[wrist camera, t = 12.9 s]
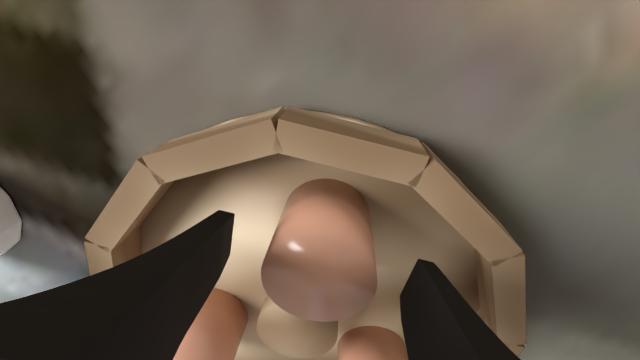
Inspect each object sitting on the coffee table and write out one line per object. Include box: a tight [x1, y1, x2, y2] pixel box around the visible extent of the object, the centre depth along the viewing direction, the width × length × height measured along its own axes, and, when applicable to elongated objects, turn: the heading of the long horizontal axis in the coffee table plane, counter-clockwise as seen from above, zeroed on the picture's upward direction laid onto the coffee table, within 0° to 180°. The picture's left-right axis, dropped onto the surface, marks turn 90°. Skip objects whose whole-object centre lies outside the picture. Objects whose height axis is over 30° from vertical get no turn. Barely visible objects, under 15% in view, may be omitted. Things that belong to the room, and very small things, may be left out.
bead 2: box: [261, 178, 378, 322], centre depth 12 cm, size 4×4×4 cm
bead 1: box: [173, 288, 248, 360], centre depth 15 cm, size 4×4×4 cm
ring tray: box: [84, 106, 527, 360], centre depth 15 cm, size 20×20×3 cm
